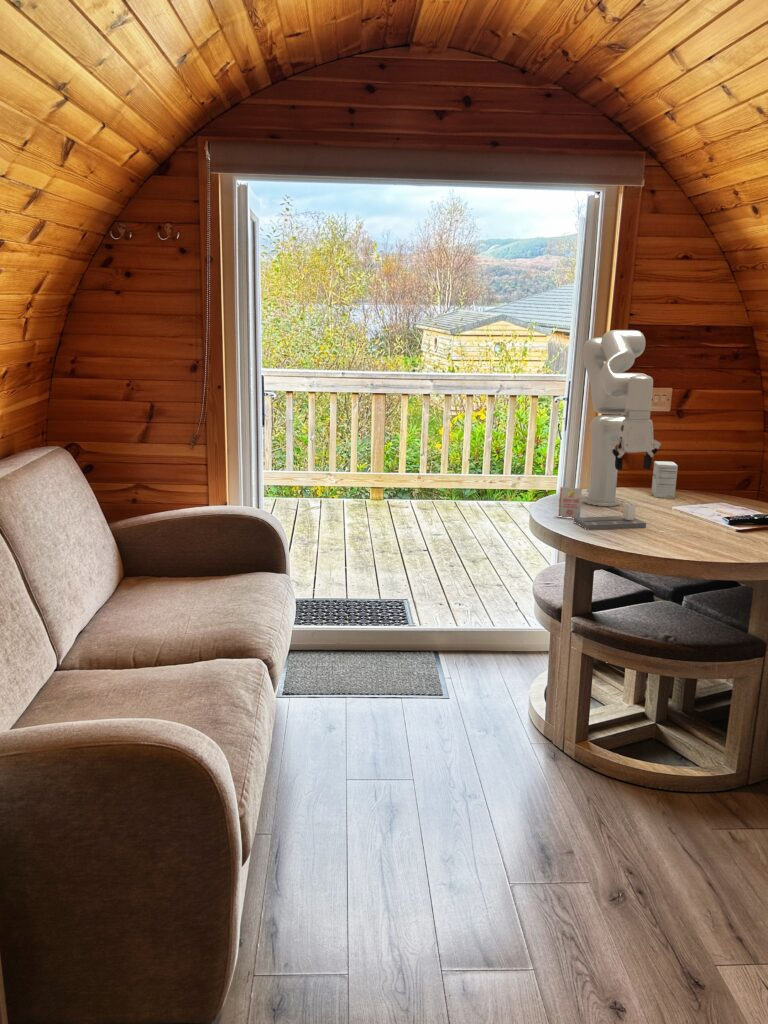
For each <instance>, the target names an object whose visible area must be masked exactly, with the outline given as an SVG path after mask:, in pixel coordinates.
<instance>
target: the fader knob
mask: <svg viewBox="0 0 768 1024" xmlns="http://www.w3.org/2000/svg"><path fill="white" fill-rule="evenodd" d="M636 506H637V505H636V504H635V503H633V502H630V501H629V502H628V501H627V502H623V510H622V516H623V518H624V519H626V520H634V518H636Z"/></svg>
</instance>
